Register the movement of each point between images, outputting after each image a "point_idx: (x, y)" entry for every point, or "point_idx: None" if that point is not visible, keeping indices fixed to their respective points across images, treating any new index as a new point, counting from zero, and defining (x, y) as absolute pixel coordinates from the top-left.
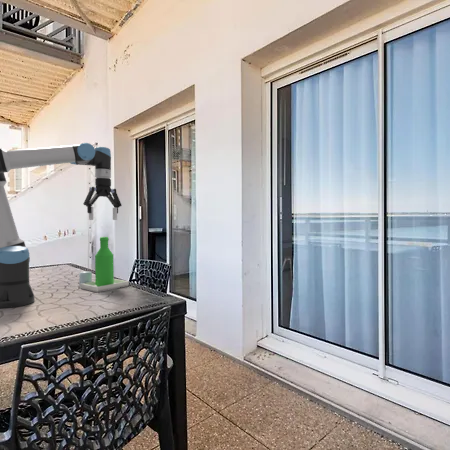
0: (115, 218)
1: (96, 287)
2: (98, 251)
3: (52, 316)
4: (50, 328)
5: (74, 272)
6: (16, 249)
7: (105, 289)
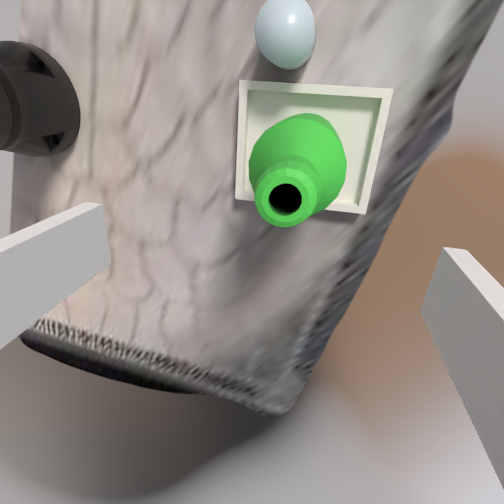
0: (427, 317)
1: (235, 192)
2: (260, 165)
3: None
4: (58, 328)
5: None
6: None
7: None
